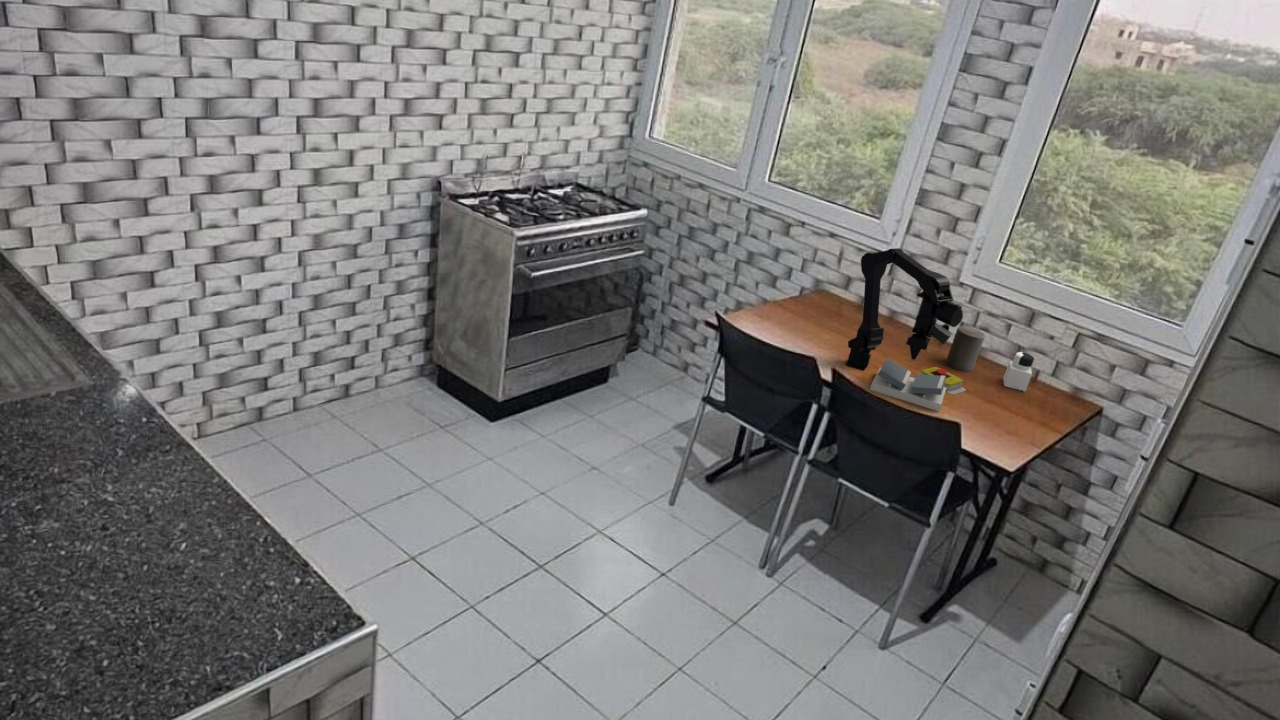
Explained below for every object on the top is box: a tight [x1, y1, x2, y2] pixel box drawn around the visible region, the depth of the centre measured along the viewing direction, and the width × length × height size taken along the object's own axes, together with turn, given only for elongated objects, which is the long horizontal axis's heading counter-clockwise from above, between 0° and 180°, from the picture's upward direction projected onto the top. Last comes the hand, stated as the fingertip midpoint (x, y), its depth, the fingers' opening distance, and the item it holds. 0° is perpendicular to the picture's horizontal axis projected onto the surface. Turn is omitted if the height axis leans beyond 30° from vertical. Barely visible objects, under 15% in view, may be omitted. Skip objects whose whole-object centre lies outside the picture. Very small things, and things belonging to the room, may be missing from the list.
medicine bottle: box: [1002, 351, 1035, 392], centre depth 292 cm, size 7×7×12 cm
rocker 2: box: [911, 373, 946, 395], centre depth 270 cm, size 9×12×2 cm
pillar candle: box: [945, 325, 986, 373], centre depth 300 cm, size 10×10×15 cm
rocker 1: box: [877, 357, 912, 390], centre depth 273 cm, size 9×12×2 cm
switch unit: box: [869, 367, 946, 412], centre depth 274 cm, size 22×15×4 cm
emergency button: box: [920, 366, 967, 395], centre depth 285 cm, size 9×4×15 cm
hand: (913, 359), depth 269 cm, fingers closed
